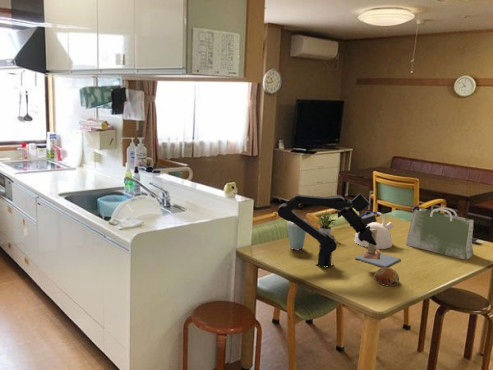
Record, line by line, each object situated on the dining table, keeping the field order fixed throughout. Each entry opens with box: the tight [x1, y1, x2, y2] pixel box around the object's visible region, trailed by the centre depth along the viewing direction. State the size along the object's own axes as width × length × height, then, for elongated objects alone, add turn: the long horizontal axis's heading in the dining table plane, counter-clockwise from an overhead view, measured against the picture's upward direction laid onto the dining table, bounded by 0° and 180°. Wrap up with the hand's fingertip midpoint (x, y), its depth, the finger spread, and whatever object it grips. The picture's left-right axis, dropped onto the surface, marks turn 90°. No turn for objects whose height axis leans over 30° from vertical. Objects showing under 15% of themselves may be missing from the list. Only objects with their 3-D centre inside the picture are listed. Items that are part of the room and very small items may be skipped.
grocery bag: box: [405, 206, 474, 260], centre depth 236 cm, size 32×14×23 cm, turn 49°
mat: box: [354, 253, 401, 268], centre depth 218 cm, size 16×16×1 cm
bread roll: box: [374, 266, 400, 287], centre depth 191 cm, size 10×10×8 cm
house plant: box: [314, 209, 338, 234], centre depth 248 cm, size 14×14×16 cm
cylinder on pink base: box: [362, 229, 381, 260], centre depth 203 cm, size 7×5×13 cm
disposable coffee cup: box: [286, 219, 307, 250], centre depth 229 cm, size 11×11×15 cm
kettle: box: [353, 211, 395, 250], centre depth 243 cm, size 20×21×18 cm
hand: (375, 243), depth 202 cm, fingers closed on cylinder on pink base, 3 cm apart
